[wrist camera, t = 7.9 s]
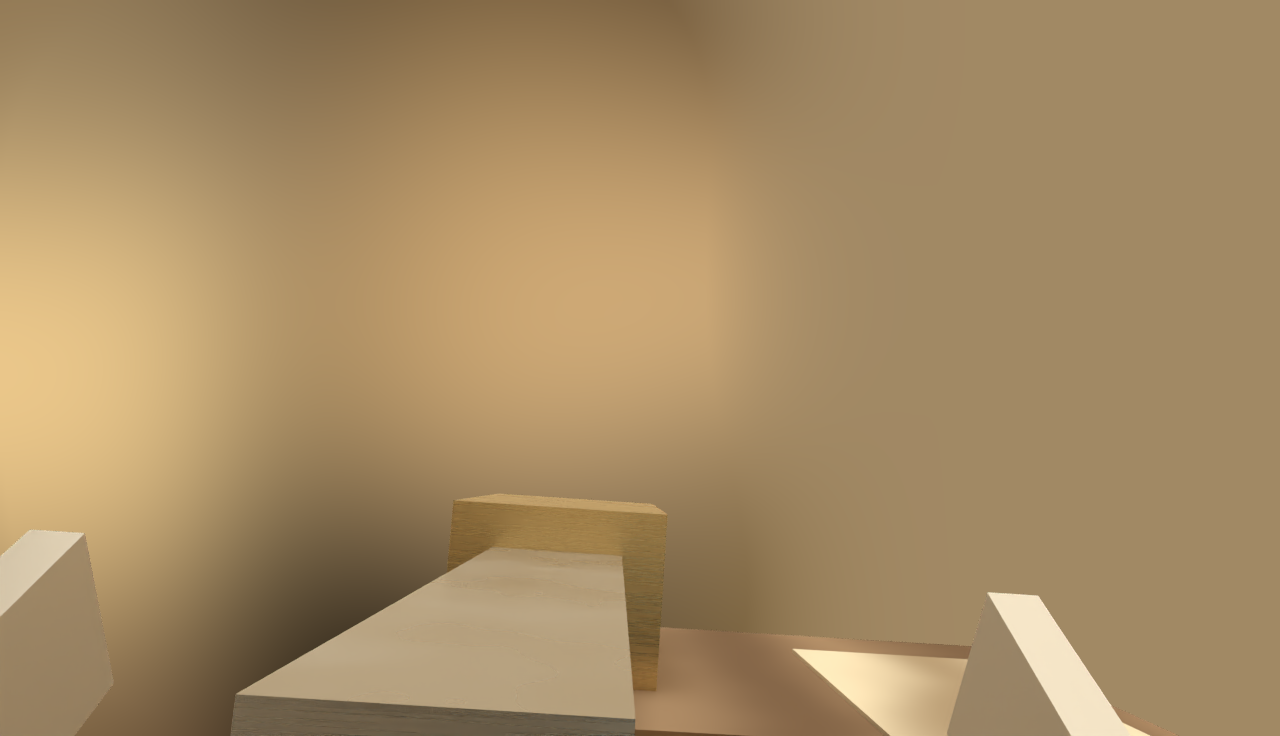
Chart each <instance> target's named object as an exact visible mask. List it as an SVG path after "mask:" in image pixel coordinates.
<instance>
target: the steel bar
mask: <svg viewBox="0 0 1280 736" xmlns="http://www.w3.org/2000/svg"><path fill="white" fill-rule="evenodd" d="M666 528H667V514H666V513H664V512H663V511H662V510H660V509H659V508H658V507H656V506H655V505H653V504H644V503H630V502H629V503H628V502H615V501H600V500H585V499H569V498H555V497H540V496H525V495H510V494H493V495H486V496H480V497H473V498H466V499H460V500H454V504H453V513H452V524H451V535H450V546H449V556H448V568H447V573H446V574H444V575H443V576H441V577H439V578H438V579H436V580H434V581H432V582H430V583H429V584H427V585H425V586H423V587H422V588H420V589H418V590H416V591H415V592H413V593H411V594H410V595H408V596H406V597H404V598H403V599H401V600H399V601H397V602H396V603H394V604H392V605H390V606H389V607H387V608H385V609H383V610H382V611H380V612H378V613H376V614H375V615H373V616H371V617H370V618H368V619H366V620H364V621H363V622H361V623H359V624H357V625H356V626H354V627H352V628H350V629H349V630H347V631H345V632H343V633H342V634H340V635H338V636H336V637H335V638H333V639H331V640H329V641H328V642H326V643H324V644H323V645H321V646H319V647H317V648H315V649H314V650H312V651H310V652H309V653H307V654H305V655H303V656H301V657H300V658H298V659H296V660H295V661H293V662H291V663H289V664H288V665H286V666H284V667H282V668H281V669H279V670H277V671H275V672H274V673H272V674H270V675H268V676H267V677H265V678H263V679H262V680H260V681H258V682H256V683H254V684H253V685H251V686H249V687H248V688H246V689H244V690H242V691H241V692H239V693H237V694H236V696H235V705H234V713H233V722H232V730H231V736H634V735H635V720H636V719H635V707H634V695H633V690H643V691H656V688H657V672H658V656H659V640H660V624H661V608H662V591H663V576H664V560H665V544H666Z"/></svg>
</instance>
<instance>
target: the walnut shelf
mask: <svg viewBox="0 0 1280 736" xmlns="http://www.w3.org/2000/svg"><path fill="white" fill-rule="evenodd" d="M971 647H972V646H958V645H942V644H925V643H907V642H892V641H874V640H859V639H843V638H827V637H826V638H825V637H810V636H794V635H776V634H761V633H743V632H728V631H711V630H695V629H678V628H661V627H660V640H659V656H658V672H657V688H656V691H643V690H633V695H634V707H635V719H636V720H635V735H634V736H948V735H947V730H948V727H949V723H950V720H951V716H952V713H953V709H954V706H955V702H956V699H957V695H958V692H959V689H960V685H961V682H962V678H963V675H964V671H965V668H966V664H967V661H968V658H969V654H970V651H971ZM1111 706H1112V705H1111ZM1112 708H1113V709H1114V711H1115V712H1116V714H1117V715H1118V717H1119V718H1120V720H1121V721H1122V723H1123V724H1124V726H1125V727H1126V729H1127V730H1128V732H1129V733H1130V735H1131V736H1179V735H1176V734H1174V733H1172V732H1170V731H1168V730H1165V729H1163V728H1161V727H1159V726H1156V725H1154V724H1152V723H1150V722H1147V721H1145V720H1143V719H1141V718H1138V717H1136V716H1134V715H1132V714H1129V713H1127V712H1125V711H1123V710H1120V709H1118V708H1116V707H1114V706H1112Z"/></svg>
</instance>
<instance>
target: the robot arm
mask: <svg viewBox="0 0 1280 736" xmlns="http://www.w3.org/2000/svg"><path fill="white" fill-rule="evenodd" d="M113 683H114V682H113V676H112V671H111V666H110V661H109V655H108V650H107V646H106V640H105V635H104V630H103V625H102V619H101V614H100V609H99V604H98V599H97V594H96V589H95V584H94V578H93V573H92V568H91V563H90V558H89V552H88V548H87V542H86V537H85V533H74V532H59V531H43V530H29V531H28V532H27V533H26V534H24V535H23V536H22V537H21V538H20V539H19V540H18V541H17V542H15V543H14V544H13V545H12V546H11V547H10V548H9V549H8V550H7V551H5V552H4V554H2V555H1V556H0V736H74V735H75V734H76V733H77V732H78V730H79V729H80V728H81V726H82V725H83V724H84V722H85V721H86V720H87V718H88V717H89V716H90V714H91V713H92V712H93V710H94V709H95V707H96V706H97V705H98V704H99V702H100V701H101V700H102V698H103V697H104V696H105V694H106V693H107V692H108V690H109V689H110V688H111V686H112V685H113ZM947 735H948V736H1131V735H1130V733H1129V732H1128V730H1127V729H1126V727H1125V726H1124V724H1123V723H1122V721H1121V720H1120V718H1119V717H1118V715H1117V714H1116V712H1115V711H1114V709H1113V708H1112V706H1111V705H1110V703H1109V702H1108V700H1107V699H1106V697H1105V696H1104V694H1103V693H1102V691H1101V690H1100V688H1099V687H1098V685H1097V684H1096V682H1095V681H1094V679H1093V678H1092V676H1091V675H1090V673H1089V672H1088V671H1087V669H1086V667H1085V666H1084V664H1083V663H1082V661H1081V660H1080V658H1079V657H1078V656H1077V654H1076V652H1075V651H1074V649H1073V648H1072V646H1071V645H1070V643H1069V642H1068V640H1067V639H1066V637H1065V636H1064V634H1063V633H1062V631H1061V630H1060V628H1059V627H1058V625H1057V624H1056V622H1055V621H1054V619H1053V618H1052V616H1051V615H1050V613H1049V612H1048V610H1047V609H1046V607H1045V606H1044V604H1043V603H1042V601H1041V600H1040V598H1039V597H1038V596H1033V595H1018V594H1003V593H987V596H986V599H985V603H984V606H983V609H982V613H981V616H980V620H979V623H978V627H977V630H976V633H975V637H974V640H973V644H972V647H971V651H970V654H969V658H968V661H967V664H966V668H965V671H964V675H963V678H962V682H961V685H960V689H959V692H958V695H957V699H956V702H955V706H954V709H953V713H952V716H951V720H950V723H949V727H948V730H947Z"/></svg>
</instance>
